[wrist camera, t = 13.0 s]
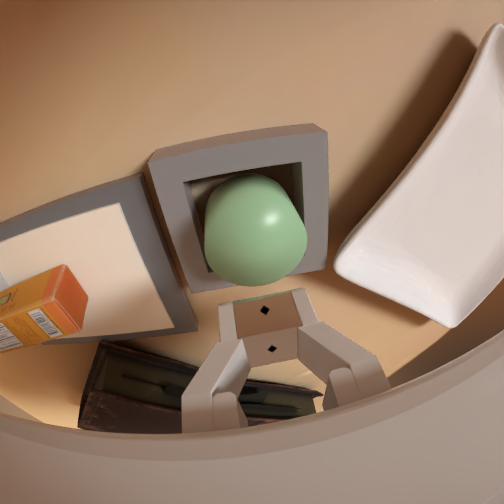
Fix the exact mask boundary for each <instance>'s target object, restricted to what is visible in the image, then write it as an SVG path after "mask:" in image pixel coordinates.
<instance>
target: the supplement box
mask: <svg viewBox="0 0 504 504" xmlns="http://www.w3.org/2000/svg"><path fill="white" fill-rule="evenodd" d="M87 303H88V295H87V294H86V292H85V291H84V289H83V288H82V286H81V285H80V283H79V282H78V281H77V279H76V277H75V276H74V275H73V273H72V272H71V270H70V269H69V268H68V266H67V265H65V264H62V265H60V266H57V267H55V268H52V269H50V270H47V271H45V272H43V273H40V274H38V275H36V276H34V277H32V278H29V279H27V280H25V281H23V282H20V283H18V284H16V285H14V286H12V287H10V288H8V289H6V290H4V291H2V292H0V353H4V352H8V351H11V350H15V349H19V348H23V347H27V346H30V345H35V344H38V343H42V342H45V341H49V340H52V339H56V338H59V337H63V336H66V335H70V334H73V333H77V332H80V331H82V326H83V321H84V316H85V311H86V307H87Z"/></svg>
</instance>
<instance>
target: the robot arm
mask: <svg viewBox="0 0 504 504" xmlns="http://www.w3.org/2000/svg"><path fill="white" fill-rule="evenodd" d="M218 320H219V334H220V342H218V343H215V345H214V346H213V348H212V350H211V351H210V353H209V354H208V356H207V357H206V359H205V361H204V362H203V364H202V365H201V367H200V368H199V370H198V371H197V373H196V374H195V376H194V378H193V379H192V381H191V382H190V384H189V385H188V387H187V388H186V390H185V391H184V393H183V394H182V433H178V434H131V433H113V432H101V431H91V430H82V429H75V428H68V427H62V426H56V425H50V424H45V423H40V422H36V421H31V420H27V419H23V418H19V417H15V416H11V415H8V414H5V413H1V412H0V504H504V330H503V331H501V332H500V333H499V334H497V335H495V336H494V337H492V338H491V339H489V340H488V341H486V342H484V343H483V344H481V345H479V346H478V347H476V348H474V349H473V350H471V351H469V352H468V353H466V354H464V355H462V356H460V357H459V358H457V359H455V360H453V361H451V362H449V363H447V364H445V365H443V366H441V367H439V368H438V369H435V370H433V371H431V372H429V373H427V374H425V375H423V376H420V377H418V378H416V379H414V380H412V381H409V382H407V383H404V384H402V385H400V386H397V387H395V388H392V389H391V387H390V385H389V382H388V380H387V378H386V376H385V374H384V371H383V369H382V367H381V365H380V363H379V361H378V358H377V356H376V355H374V354H372V353H371V352H369V351H368V350H366V349H365V348H363V347H362V346H360V345H358V344H357V343H355V342H354V341H352V340H351V339H349V338H348V337H346V336H345V335H343V334H342V333H340V332H338V331H337V330H335V329H334V328H332V327H331V326H329V325H328V324H326V323H325V322H319V321H318V319H317V316H316V314H315V311H314V309H313V306H312V304H311V301H310V299H309V296H308V294H307V291H306V289H305V288H304V287H303V288H298V289H294V290H290V291H284V292H280V293H275V294H270V295H265V296H261V297H256V298H250V299H244V300H237V301H233V302H226V303H220V304H218ZM297 358H298V360H299V361H301V362H302V363H303V364H304V365H305V366H306V367H307V368H308V369H309V370H310V371H312V372H313V373H314V374H315V375H316V376H317V377H318V378H319V379H321V380H322V381H323V382H324V383H325V384H326V385H327V387H326V391H325V395H324V400H323V404H322V405H323V409H324V411H322V412H319V413H315V414H311V415H307V416H302V417H298V418H294V419H289V420H284V421H279V422H274V423H269V424H263V425H257V426H251V427H249V426H248V420H247V418H246V416H245V414H244V412H243V410H242V408H241V406H240V404H239V402H238V396H239V394H240V392H241V390H242V388H243V385H244V383H245V381H246V379H247V377H248V374H249V372H250V370H251V369H250V368H252V367H257V366H262V365H267V364H271V363H276V362H282V361H287V360H292V359H297Z"/></svg>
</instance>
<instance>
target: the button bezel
mask: <svg viewBox="0 0 504 504" xmlns="http://www.w3.org/2000/svg"><path fill="white" fill-rule="evenodd" d="M287 163H292V175H293V189H294V205H295V209H296V211H297V213H298V215H299V217H300V218H301V220H302V222H303V224H304V226H305V229H306V233H307V246H306V251H305V253H304V256H303V258H302V260H301V261H300V263H299V264H298V265H297V266H296V268H295V269H294V270H293V271H291V272H290V273H289V274H288V275H286V276H291V275H296V274H301V273H306V272H311V271H316V270H321V269H326V267H327V245H328V207H329V173H328V135H327V131H325V130H323V129H322V128H320V127H318V126H317V125H315V124H313V123H312V124H301V125H291V126H282V127H273V128H266V129H258V130H251V131H245V132H239V133H233V134H227V135H221V136H216V137H211V138H206V139H201V140H196V141H191V142H187V143H182V144H178V145H174V146H170V147H166V148H162V149H158V150H155V152H154V153H153V155H152V156H151V158H150V159H149V161H148V166H149V169H150V173H151V176H152V179H153V183H154V186H155V189H156V193H157V196H158V199H159V202H160V205H161V208H162V212H163V215H164V218H165V221H166V224H167V227H168V230H169V233H170V236H171V238H172V241H173V244H174V247H175V250H176V253H177V256H178V258H179V261H180V264H181V267H182V269H183V272H184V275H185V277H186V280H187V283H188V285H189V288H190V291H191V293H198V292H204V291H210V290H215V289H221V288H227V287H232V286H238V285H236V284H232V283H230V282H227V281H226V280H224V279H222V278H221V277H219V276H218V275H217V274H216V273H215V272H214V271H213V270H212V269H211V268H210V266H209V264H208V262H207V260H206V256H205V248H204V242H205V239H204V235H203V231H202V228H201V224H200V220H199V216H198V213H197V209H196V205H195V201H194V197H193V193H192V189H191V185H190V180H195V179H199V178H204V177H209V176H214V175H220V174H225V173H230V172H236V171H242V170H248V169H254V168H260V167H266V166H273V165H280V164H287ZM286 276H285V277H286Z"/></svg>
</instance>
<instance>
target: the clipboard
mask: <svg viewBox="0 0 504 504" xmlns="http://www.w3.org/2000/svg"><path fill="white" fill-rule="evenodd" d="M62 264H65V265H67V266H68V268H69V269H70V270H71V272H72V273H73V275H74V276H75V277H76V279H77V281H78V282H79V283H80V285H81V286H82V288H83V289H84V291H85V292H86V294H87V295H88V303H87V307H86V311H85V316H84V321H83V326H82V331H80V332H77V333H73V334H70V335H66V336H63V337H59V338H56V339H52V340H49V341H45V342H42V343H41V344H69V343H87V342H100V341H101V340H104V341H114V340H125V339H136V338H145V337H154V336H163V335H171V334H179V333H186V332H193V331H198V322H197V320H196V317H195V315H194V313H193V310H192V308H191V305H190V303H189V301H188V298H187V296H186V293H185V291H184V288H183V286H182V283H181V281H180V278H179V276H178V273H177V271H176V268H175V265H174V263H173V260H172V258H171V255H170V252H169V249H168V247H167V244H166V241H165V238H164V236H163V233H162V230H161V227H160V224H159V221H158V218H157V216H156V213H155V210H154V207H153V204H152V201H151V197H150V194H149V191H148V188H147V185H146V182H145V178H144V175H143V173H139V174H135V175H132V176H128V177H125V178H121V179H118V180H114V181H111V182H108V183H104V184H101V185H98V186H95V187H92V188H89V189H86V190H83V191H80V192H77V193H74V194H71V195H68V196H66V197H63V198H60V199H57V200H55V201H52V202H49V203H47V204H44V205H42V206H39V207H37V208H34V209H32V210H29V211H27V212H25V213H22V214H20V215H18V216H15V217H13V218H11V219H9V220H6V221H4V222H2V223H0V292H2V291H4V290H6V289H8V288H10V287H12V286H14V285H16V284H18V283H20V282H23V281H25V280H27V279H29V278H32V277H34V276H36V275H38V274H40V273H43V272H45V271H47V270H50V269H52V268H55V267H57V266H60V265H62Z"/></svg>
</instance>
